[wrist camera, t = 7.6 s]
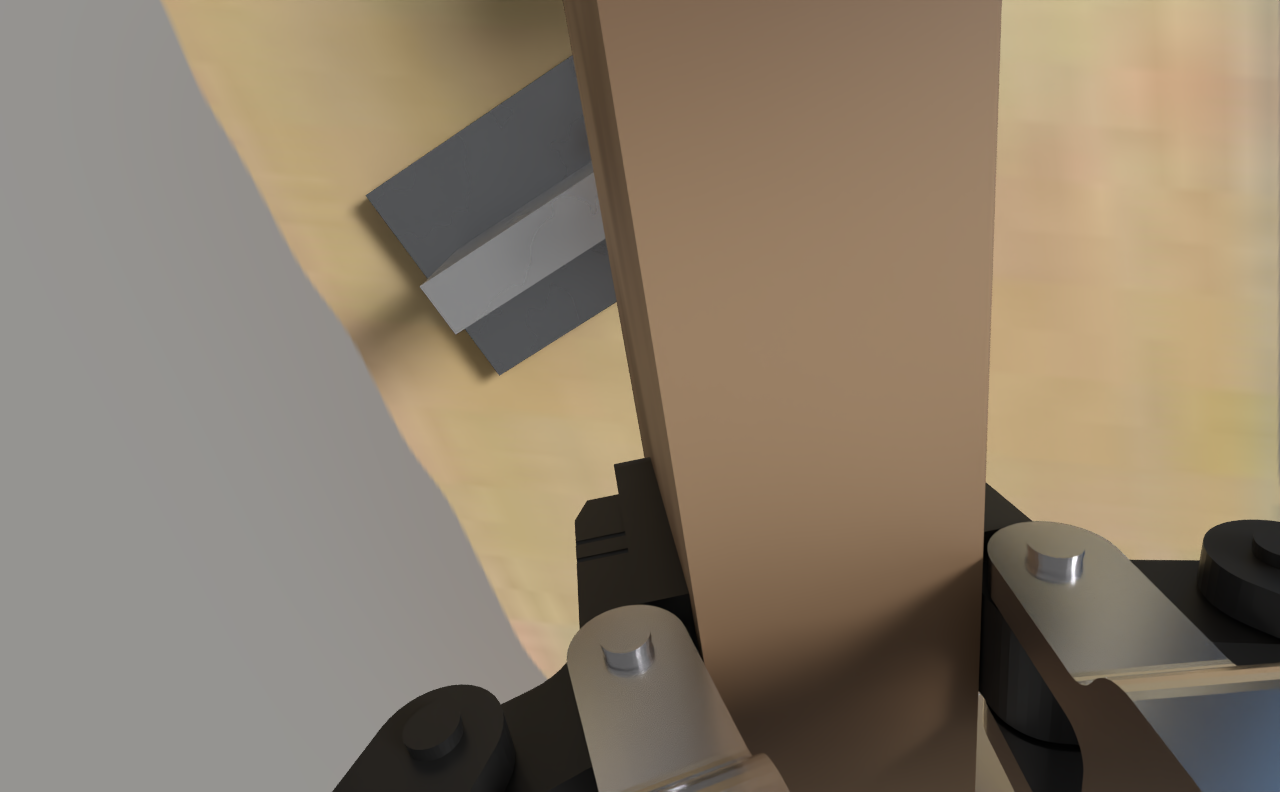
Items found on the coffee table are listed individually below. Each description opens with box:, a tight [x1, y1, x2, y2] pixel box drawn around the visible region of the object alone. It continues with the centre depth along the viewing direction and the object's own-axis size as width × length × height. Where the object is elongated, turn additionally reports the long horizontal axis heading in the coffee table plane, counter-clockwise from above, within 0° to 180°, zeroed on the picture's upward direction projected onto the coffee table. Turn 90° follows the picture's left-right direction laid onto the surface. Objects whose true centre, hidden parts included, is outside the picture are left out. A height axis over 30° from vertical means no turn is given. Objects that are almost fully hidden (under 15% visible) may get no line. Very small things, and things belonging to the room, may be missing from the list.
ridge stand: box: [366, 55, 617, 375], centre depth 28 cm, size 10×18×10 cm, turn 122°
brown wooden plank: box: [563, 0, 1002, 792], centre depth 10 cm, size 22×3×6 cm, turn 9°
